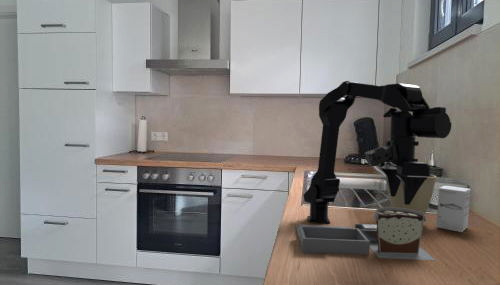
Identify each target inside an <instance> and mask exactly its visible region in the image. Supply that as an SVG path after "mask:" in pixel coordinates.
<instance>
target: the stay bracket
mask: <svg viewBox="0 0 500 285" xmlns="http://www.w3.org/2000/svg"><path fill="white" fill-rule="evenodd" d="M362 225H377V223H376V224H375V223H373V224H372V223H371V224H370V223H354V228H359V229H360V231H361V232H362V233H363V234H364V235H365V236H366V238H367V239H368V240H369V241H370V243H378V239H377V230H362Z"/></svg>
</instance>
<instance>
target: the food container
mask: <svg viewBox="0 0 500 285" xmlns="http://www.w3.org/2000/svg"><path fill="white" fill-rule="evenodd" d="M373 220H374V222H376V224H377V239H378V252H379V253H385V254H419V248H421V241H422V235H423V228H424V222H425V223H426V222H427V217H426V214H425V213H422V212H420V211H416V210H411V209H406V208H396V207H391V206H390V207H388V206H386V207H380V208H377V209H376V210H375V211H374V216H373Z"/></svg>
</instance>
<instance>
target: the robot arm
mask: <svg viewBox="0 0 500 285" xmlns="http://www.w3.org/2000/svg"><path fill="white" fill-rule="evenodd" d="M357 97H360V98H365V99H370V100H371V99H372V100H376V101H379V102H380V103H383V104H384V105H386V106H389V107H390V108H389V109H388V111H386V112H385V113H384V114H383V115H382V116H383V118H388V119H389V118H390V124H389V125H390V130H389V139H387V140H386V141H385V146H380V147H377V148H374V149H371V150H368V151H366V152H364V157H365V160H366V163H367V165H368V166H371V167H378V170H379V171H381V172H382V173H383V174H384V175H385V180H386V179H387V183H388V187H389V192H390V196H392V197H395V196H396V193H397V191H398V188H399V185H400V183H401V181H402V187H403V198H404V204H405V205H410V203H411V201H412V200H413V198H414V196H415V195H416V193H417V191H418V190H419V188H420V187H421V185H422V184H423V182H424V181H425V180H427V178H428V177H426V176H431V175H432V174H431V173H432V167H431V166H430V165H429V164H428V163H426V162H422V161H418V160H419V159H418V158H415V157H416V146H417V147H419V145H420V143H419V142H420V141H416V138H417V137H418V138H427V139H428V138H430V139H445V138H447V137H448V136H449V134H450V132H451V129H452V122H451V119H450V116H449V114H447V108H446V107H445V106H444V107H443V106H435V107H430V106H429V104H428V102H427V101H426V99H425V98H424V96H423V93H422V90H421V87H420V86H419V85H415V84H406V83H391V84H389V83H388V84H383V85H378V84H377V85H376V84H369V83H361V82H358V81H352V80H351V81H350V80H345V81H343V82H341V83H340V84H339V86H337V87H336V88H334V89H332V90H330V91H329V92H328V93H326V95H324V97H323V98H322V99H320V100H319V104H318V117H319V119H320V121H321V123H322V132H321V139H320V147H319V148H320V149H319V155H318V156H319V158H318V167H317V170H316V172H315V174H314V175H313V176H312V178H311V181H310V185H309V187H308V188H307V190H306V191H305V192H304V194H303V201H304V202H305V203H309V215H307V220H308V222H309V223H312V224H313V223H314V224H331V221H330V219H329V203H334V202H335V200H336V197H337V195H338V192H340V184H341V180H340V178H337V175H336V173H335V166H336V157H337V151H338V150H337V149H338V141H339V135H340V134H339V133H340V127H341V125H342V124H343V123H344V121H345V119H346V117H347V114H348V110H350V108H351V107H352V106H353V105H354V103H355V101H356V98H357Z"/></svg>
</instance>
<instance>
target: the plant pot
mask: <svg viewBox="0 0 500 285" xmlns="http://www.w3.org/2000/svg"><path fill="white" fill-rule="evenodd" d="M426 177H428V178H427V180H425V181H424V182H423V184H422V185H421V187H420V188H419V190H418V191H417V193H416V195H415V196H414V198H413V200H412V201H411V203H410V205H405V204H404V198H403V187H402V181H401V183H400V185H399V188H398V191H397V193H396V196H395V197H392V196H390V192H389V187H388V183H387V179H386V178H385V183H386V190H387V195H388V200H389V201H388V202H389V205H390V207H396V208H406V209H411V210H416V211H420V212H422V213H425V215H426V214H427V212H428V208H429V206H430V204H431V199H432V197H433V192H434V188H435V185H436V180H437V176H436V175H434V174H431V176H426Z"/></svg>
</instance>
